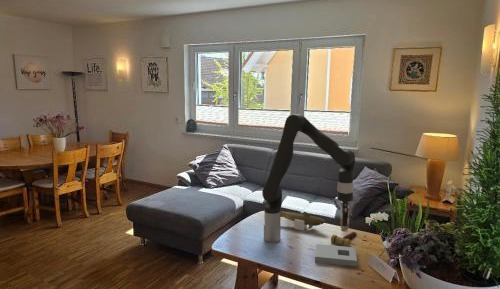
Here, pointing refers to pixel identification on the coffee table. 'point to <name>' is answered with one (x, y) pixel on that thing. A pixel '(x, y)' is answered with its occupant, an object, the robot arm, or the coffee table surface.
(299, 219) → the wood carving
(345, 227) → the peg
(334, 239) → the gavel
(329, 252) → the board
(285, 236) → the coffee table surface
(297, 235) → the coffee table surface
